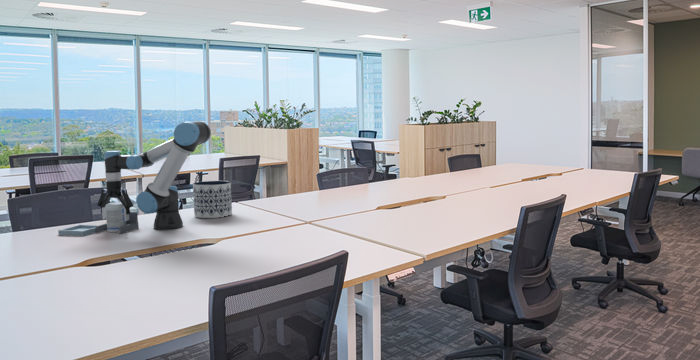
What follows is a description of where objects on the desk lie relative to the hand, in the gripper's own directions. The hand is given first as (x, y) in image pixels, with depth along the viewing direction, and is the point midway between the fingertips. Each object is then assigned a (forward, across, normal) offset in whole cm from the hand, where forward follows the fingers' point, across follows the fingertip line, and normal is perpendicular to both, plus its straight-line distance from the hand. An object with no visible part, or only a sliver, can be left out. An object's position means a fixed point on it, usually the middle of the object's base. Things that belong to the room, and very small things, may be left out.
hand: (115, 219), depth 284 cm
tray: (+6, +16, +8) cm, 18 cm away
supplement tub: (+6, 0, 0) cm, 6 cm away
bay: (+6, 0, 0) cm, 6 cm away
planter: (+6, -29, -51) cm, 59 cm away
